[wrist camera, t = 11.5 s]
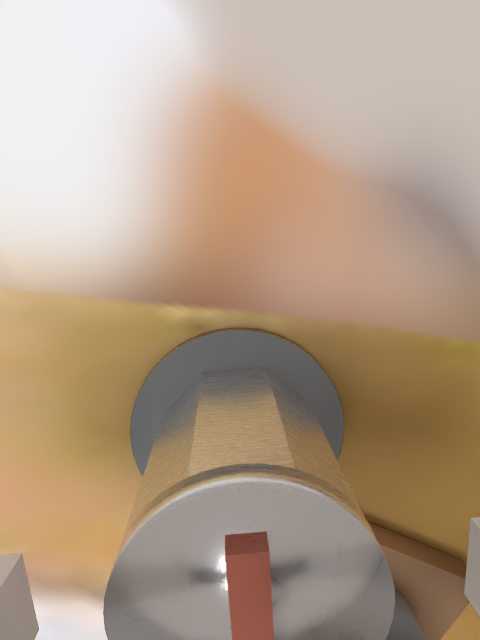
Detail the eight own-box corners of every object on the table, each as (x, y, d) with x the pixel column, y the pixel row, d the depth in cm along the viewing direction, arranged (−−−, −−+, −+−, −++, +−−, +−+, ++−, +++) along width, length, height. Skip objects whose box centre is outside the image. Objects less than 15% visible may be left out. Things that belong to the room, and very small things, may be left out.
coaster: (280, 540, 20) (282, 552, 20) (102, 470, 19) (97, 480, 18) (376, 381, 19) (383, 388, 18) (187, 291, 17) (185, 294, 16)
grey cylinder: (167, 510, 19) (118, 763, 10) (150, 368, 17) (71, 522, 8) (318, 498, 19) (399, 735, 10) (316, 357, 17) (413, 494, 8)
